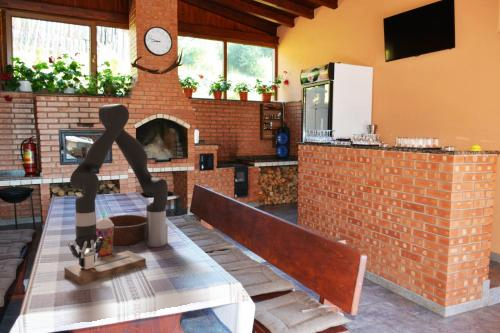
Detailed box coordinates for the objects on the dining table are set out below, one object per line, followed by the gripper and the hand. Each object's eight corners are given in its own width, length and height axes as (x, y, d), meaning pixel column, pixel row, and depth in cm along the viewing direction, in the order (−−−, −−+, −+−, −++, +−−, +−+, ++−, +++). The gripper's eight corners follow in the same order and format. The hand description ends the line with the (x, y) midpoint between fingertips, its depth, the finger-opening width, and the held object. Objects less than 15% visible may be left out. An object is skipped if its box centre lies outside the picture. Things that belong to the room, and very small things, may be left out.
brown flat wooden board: (128, 256, 175) (128, 249, 174) (145, 265, 165) (145, 257, 165) (64, 274, 154) (64, 266, 154) (80, 285, 145) (80, 276, 144)
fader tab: (88, 263, 156) (88, 249, 156) (94, 267, 153) (94, 252, 152) (80, 265, 154) (79, 251, 153) (86, 269, 150) (85, 254, 150)
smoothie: (93, 258, 172) (92, 214, 169) (95, 252, 180) (94, 209, 177) (113, 257, 174) (112, 213, 171) (115, 250, 182) (114, 209, 179)
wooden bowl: (136, 250, 184) (135, 229, 183) (88, 245, 189) (88, 225, 188) (158, 234, 208) (158, 216, 207) (116, 231, 213) (115, 212, 212)
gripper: (98, 217, 159) (99, 258, 161) (63, 224, 148) (65, 267, 151) (107, 221, 154) (108, 263, 156) (71, 228, 143) (73, 273, 146)
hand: (87, 265), depth 153 cm, fingers closed on fader tab, 3 cm apart
